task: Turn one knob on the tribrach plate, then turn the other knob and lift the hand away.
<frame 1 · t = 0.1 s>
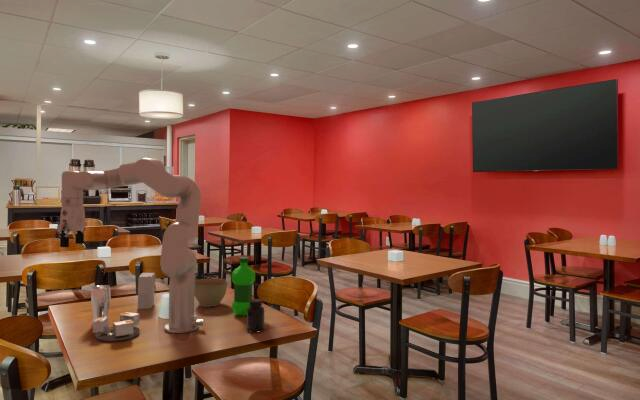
hand: (72, 245, 181), 31 cm above the table, tool pointing down, fingers open, 9 cm apart
planter bowl: (209, 305, 214), on the table
tribrach plate: (117, 335, 170), on the table
beer glass: (100, 324, 182), on the table
light grey boxy piece: (129, 319, 175), point 4 cm above the table, hinge at 0.0°
knob b: (123, 328, 165), point 4 cm above the table, hinge at 0.0°
supplement bottle: (255, 331, 179), on the table
plastic bottle: (242, 315, 200), on the table
skincare box: (146, 307, 208), on the table
knob a: (100, 324, 168), point 4 cm above the table, hinge at 0.0°
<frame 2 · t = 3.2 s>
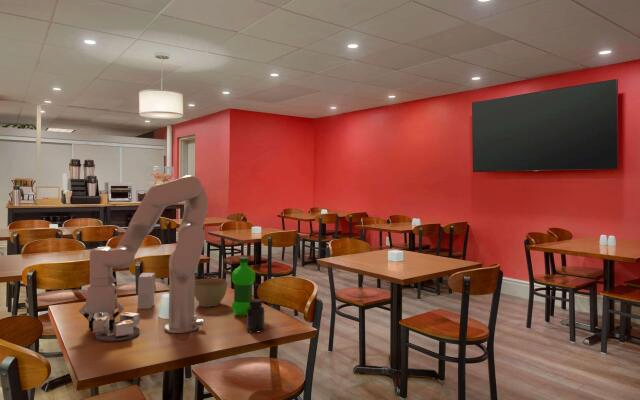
hand: (101, 329, 169), 2 cm above the table, tool pointing down, fingers open, 5 cm apart
nothing on the table moved.
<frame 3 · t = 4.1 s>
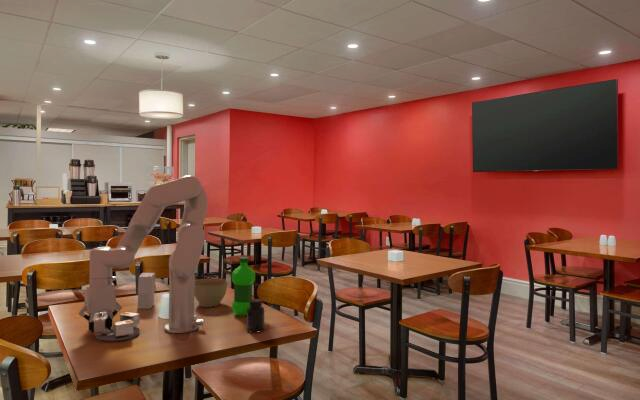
hand: (100, 329, 168), 2 cm above the table, tool pointing down, fingers closed on knob a, 5 cm apart
knob a: (100, 324, 168), point 4 cm above the table, hinge at 7.4°, touching gripper
everything else where it was.
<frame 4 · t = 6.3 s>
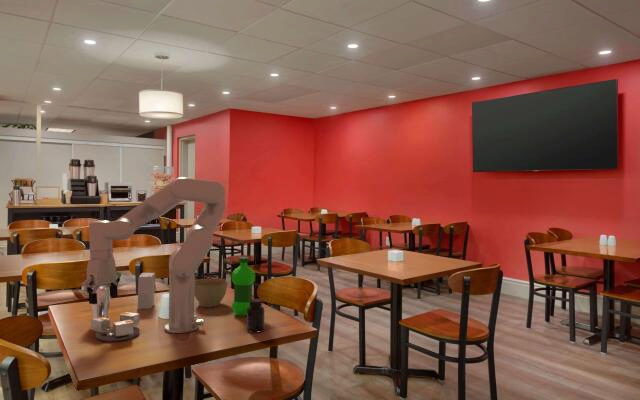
hand: (103, 300, 168), 13 cm above the table, tool pointing down, fingers open, 9 cm apart
knob a: (100, 324, 168), point 4 cm above the table, hinge at 49.1°
everything else where it was.
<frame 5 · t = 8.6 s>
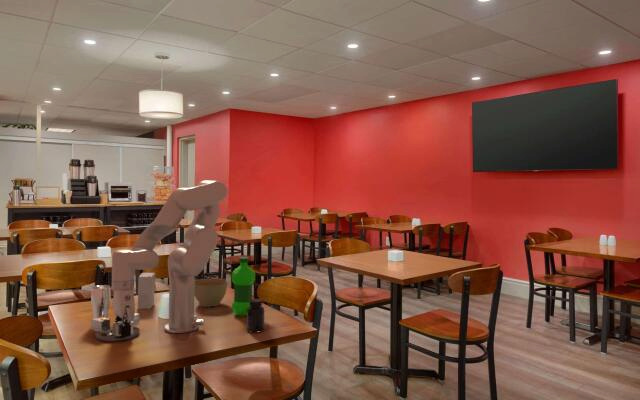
hand: (122, 333, 165), 2 cm above the table, tool pointing down, fingers open, 6 cm apart
knob a: (100, 324, 168), point 4 cm above the table, hinge at 50.0°
everything else where it was.
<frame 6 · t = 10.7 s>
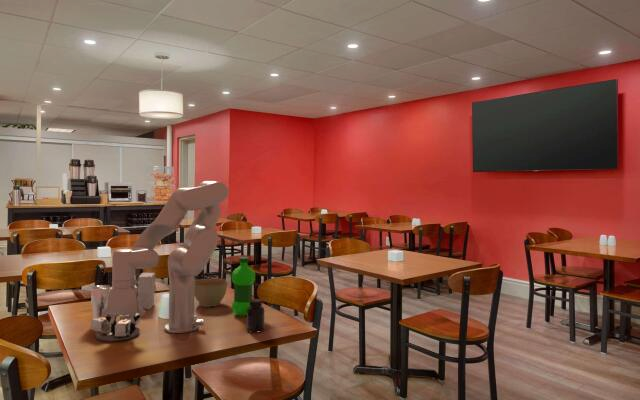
hand: (123, 333, 165), 2 cm above the table, tool pointing down, fingers open, 5 cm apart
knob b: (123, 328, 165), point 4 cm above the table, hinge at 54.0°
everything else where it was.
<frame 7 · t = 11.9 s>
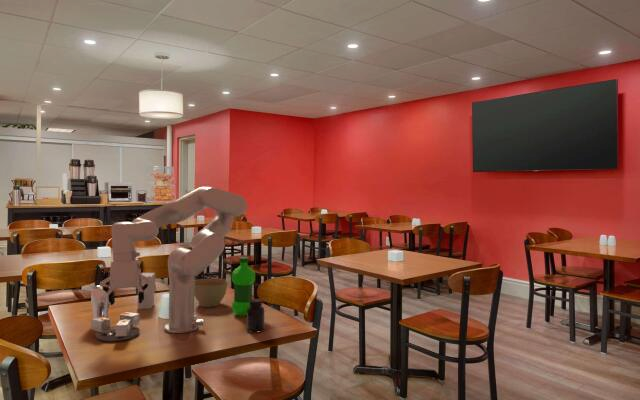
hand: (126, 303, 165), 13 cm above the table, tool pointing down, fingers open, 9 cm apart
knob b: (123, 328, 165), point 4 cm above the table, hinge at 59.8°
everything else where it was.
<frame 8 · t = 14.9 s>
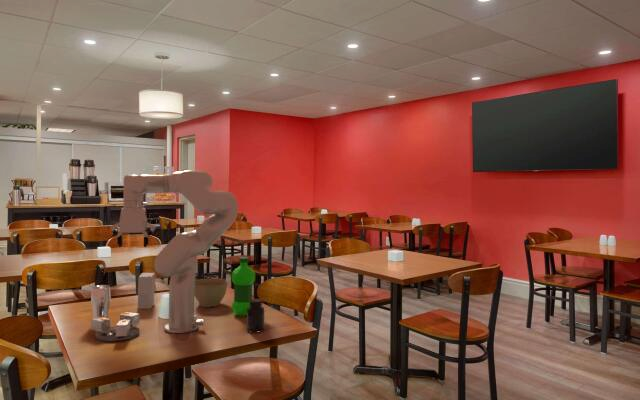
hand: (133, 246, 188), 30 cm above the table, tool pointing down, fingers open, 9 cm apart
knob b: (123, 328, 165), point 4 cm above the table, hinge at 60.8°
everything else where it was.
at the end: knob a at +50° (first picture: +0°); knob b at +61° (first picture: +0°); the gripper is holding nothing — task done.
